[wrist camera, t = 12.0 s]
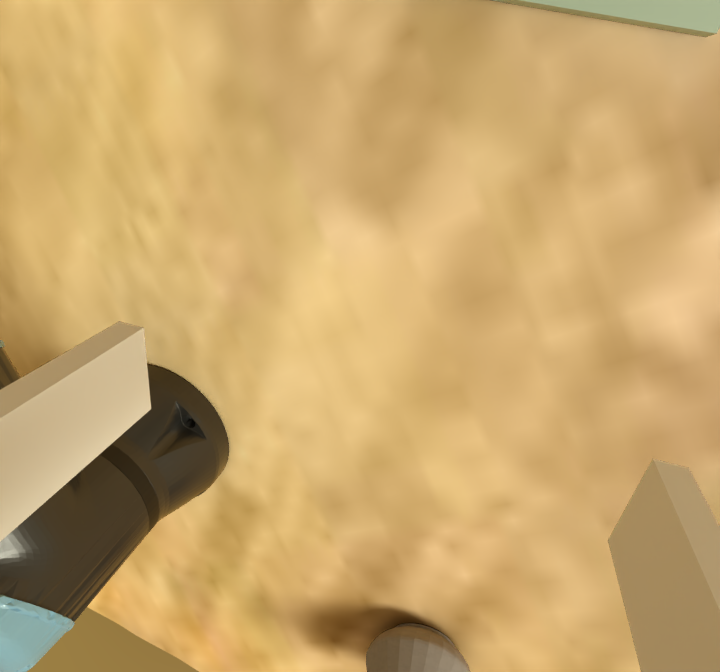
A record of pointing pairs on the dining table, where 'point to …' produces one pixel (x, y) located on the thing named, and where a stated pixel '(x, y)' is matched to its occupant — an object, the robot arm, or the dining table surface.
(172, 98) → the dining table surface
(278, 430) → the dining table surface
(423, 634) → the coffee pot
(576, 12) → the bay
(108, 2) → the dining table surface
